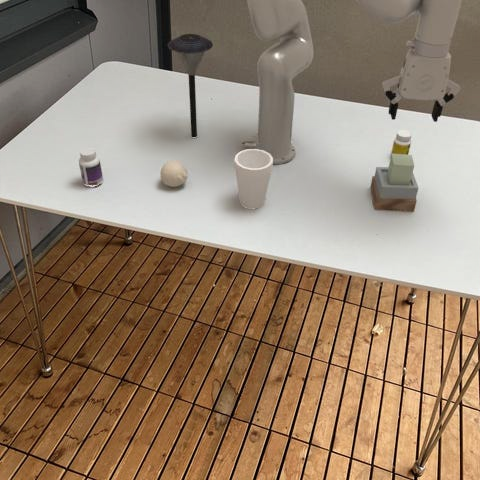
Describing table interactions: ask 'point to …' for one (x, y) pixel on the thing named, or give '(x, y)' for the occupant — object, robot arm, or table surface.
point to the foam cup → (253, 176)
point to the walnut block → (391, 201)
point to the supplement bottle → (402, 142)
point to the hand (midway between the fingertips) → (413, 117)
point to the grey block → (394, 186)
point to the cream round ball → (173, 173)
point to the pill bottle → (90, 167)
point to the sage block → (400, 169)
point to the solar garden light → (191, 65)
